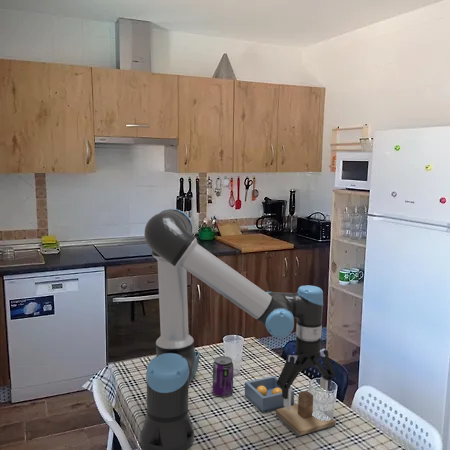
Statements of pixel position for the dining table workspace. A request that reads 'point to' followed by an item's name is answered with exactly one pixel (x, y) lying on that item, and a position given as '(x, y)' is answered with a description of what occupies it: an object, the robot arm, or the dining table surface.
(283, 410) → the lid
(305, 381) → the dining table surface
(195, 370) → the flower pot
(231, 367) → the beverage can
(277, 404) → the dish
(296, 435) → the mat
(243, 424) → the dining table surface
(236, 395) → the dining table surface
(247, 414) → the dining table surface
